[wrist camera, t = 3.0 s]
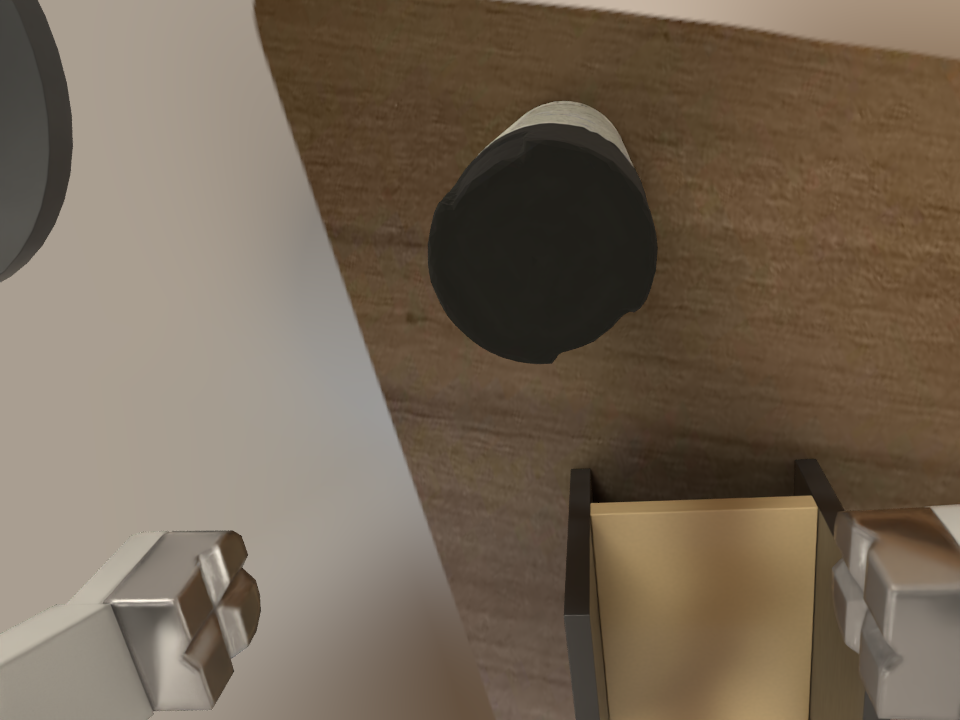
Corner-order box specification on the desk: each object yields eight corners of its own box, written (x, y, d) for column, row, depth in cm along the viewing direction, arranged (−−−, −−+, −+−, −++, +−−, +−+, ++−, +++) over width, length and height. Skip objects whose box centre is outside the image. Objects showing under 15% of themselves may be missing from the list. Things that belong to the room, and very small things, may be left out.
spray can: (475, 148, 39) (372, 232, 21) (584, 69, 37) (577, 85, 18) (544, 251, 41) (505, 413, 22) (652, 181, 38) (708, 297, 20)
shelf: (590, 665, 52) (590, 887, 38) (570, 469, 46) (562, 647, 32) (807, 666, 49) (891, 905, 35) (816, 458, 43) (921, 647, 29)
